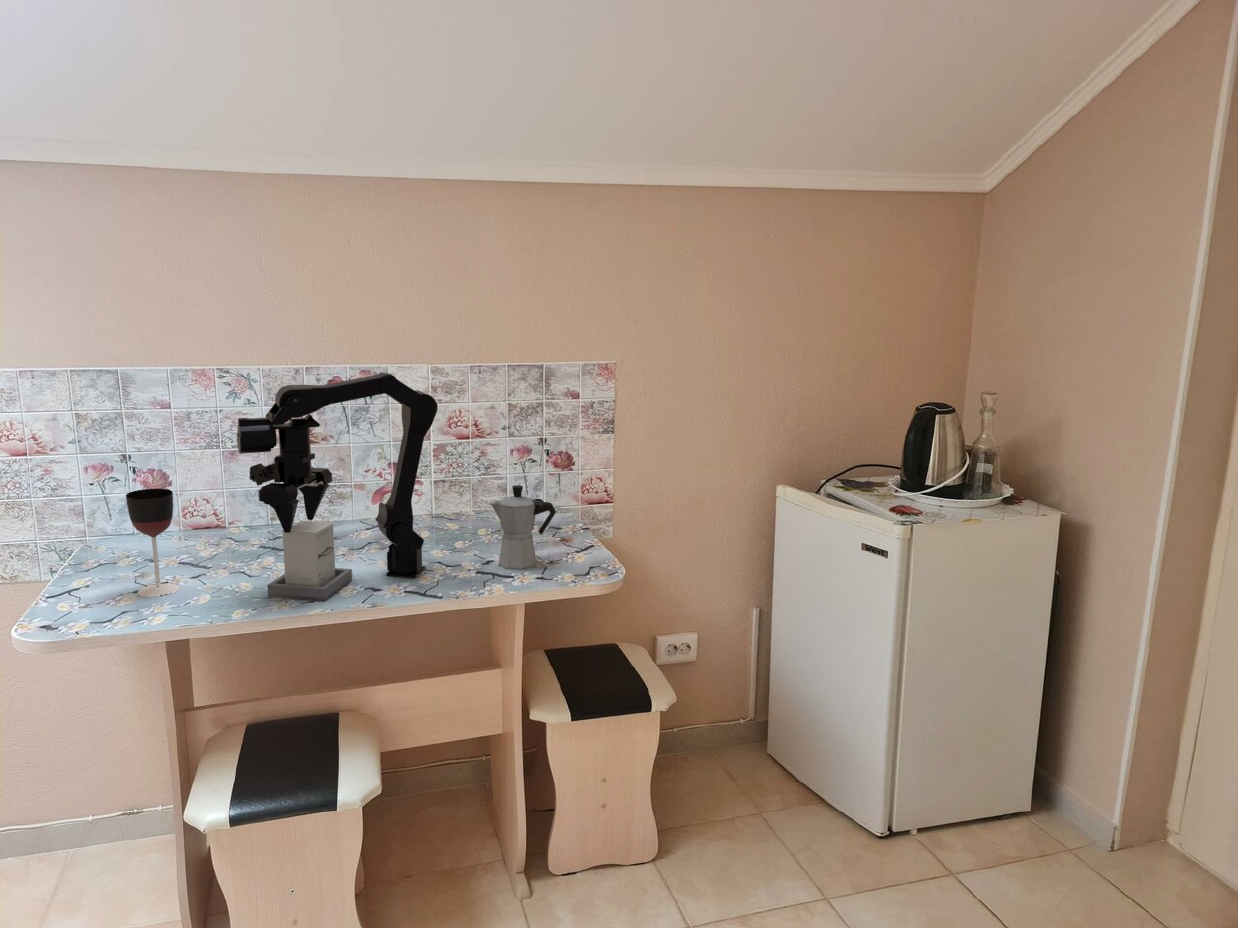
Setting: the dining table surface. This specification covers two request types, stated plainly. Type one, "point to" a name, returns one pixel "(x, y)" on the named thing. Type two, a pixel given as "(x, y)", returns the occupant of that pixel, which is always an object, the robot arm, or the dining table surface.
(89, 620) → the dining table surface
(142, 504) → the wineglass
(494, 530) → the dining table surface
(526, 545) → the coffee maker
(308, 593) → the tray
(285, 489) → the robot arm
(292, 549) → the supplement box
